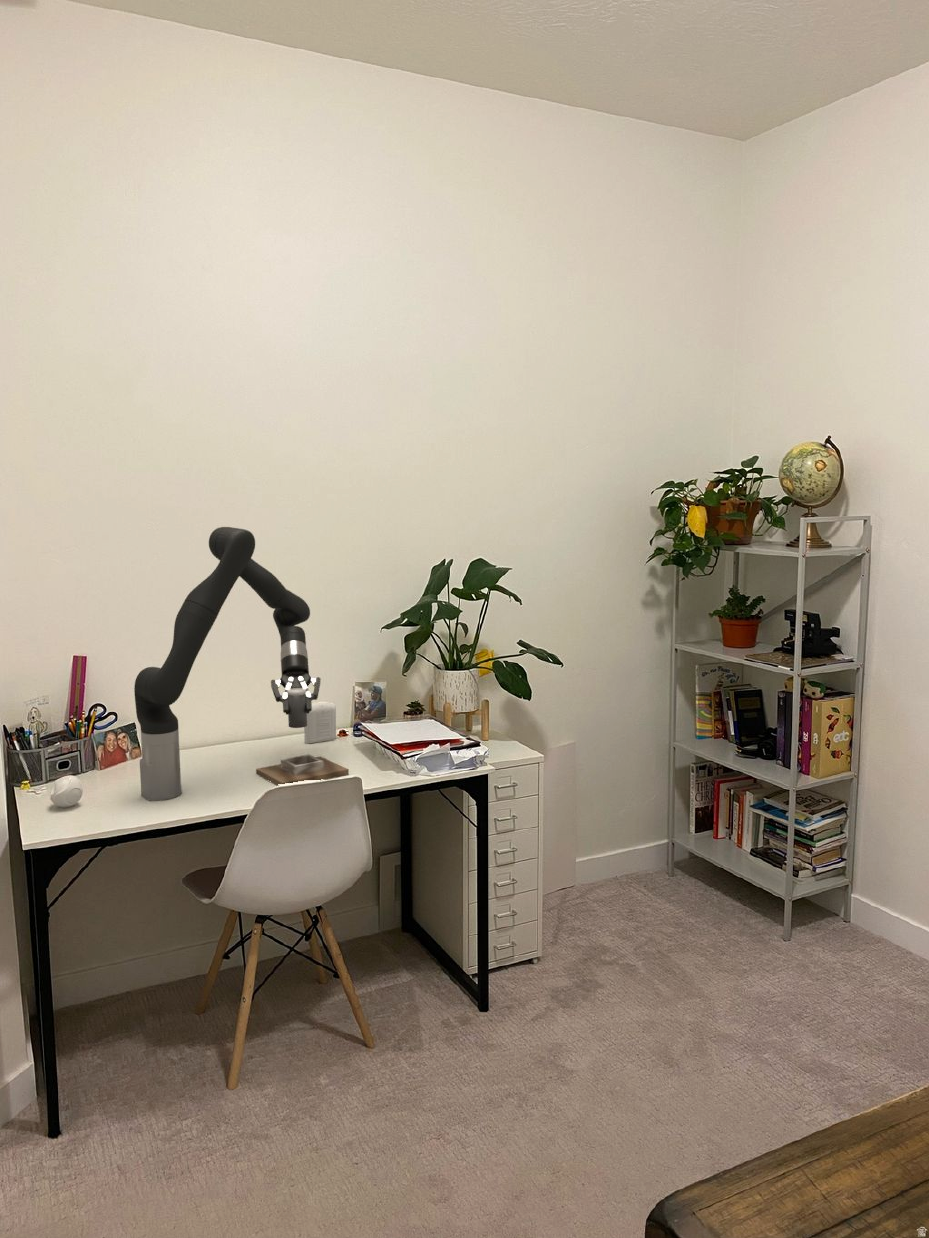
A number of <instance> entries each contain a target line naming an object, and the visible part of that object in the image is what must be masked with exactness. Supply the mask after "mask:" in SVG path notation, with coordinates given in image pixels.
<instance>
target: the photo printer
mask: <svg viewBox="0 0 929 1238" xmlns="http://www.w3.org/2000/svg"><path fill="white" fill-rule="evenodd" d="M311 703H312V710H311V711H309V713H307V726H306V727H303V728H304V732H303V733H304V743H305V744H314V743H320V742H327V741H328V742H329V741H335V740H336V739H337V711H336V705H335V703H333V702H330V701H315V702H311Z"/></svg>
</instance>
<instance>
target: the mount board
mask: <svg viewBox="0 0 929 1238" xmlns="http://www.w3.org/2000/svg"><path fill="white" fill-rule="evenodd" d="M349 771H350V770H349V769H348V768H346V767H345V766H342V765H340V764H338V763H336V762H333V761H332V760H329V759H327V758H325V757H323V756H314V755H311V754H309V753H307V754H303V755H298V756H297V755H296V756H292V757H287V758H281V759H280V763H279V764H275V765H269V766H263V767H259V768H255V772H256V773H255V774H256V775H257V776H259V777H261V778H262V779H264V780H267V781H268V780H269V781H268V782H270V781H271V782H270V783H272V784H274V785H275V786H277V785H278V784H285V783H293V782H298V781H304V780H320V781H322V780H321V779H325V780H329V779H333V778H334V777H335V778H338V777H343V776H348V775H349V773H350V772H349Z"/></svg>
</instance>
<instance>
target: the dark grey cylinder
mask: <svg viewBox="0 0 929 1238" xmlns="http://www.w3.org/2000/svg"><path fill="white" fill-rule="evenodd" d="M287 696H288V710H289V715H287V717H288V718H287V719H288V727H289V728H290V729H291V728H292V729H302V728H304V727H306V726H307V708H306V689H305V688H291V689H288V690H287Z"/></svg>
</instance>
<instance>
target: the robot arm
mask: <svg viewBox="0 0 929 1238" xmlns="http://www.w3.org/2000/svg"><path fill="white" fill-rule="evenodd" d="M208 548H209V551H210V552H211V554H212V555H213V556H214V558H216V559H217V560H218V561H219V562H218V564H217V566H216V568H215V569H214V570H213V571H212V572H211V573H210V574H209V576H207V577H206V578H205V579H204V580H202V581H201V582H200V583H199V584H197V585H196V586H195V587H194V588H193V589H192V590H191V591H190V592H189V593H188V595H187V596H186V598H185V599H184V600H183V603H182V605H181V607H180V608H179V610H178V613H177V615H176V617H175V621H174V625H173V639H172V640H173V641H172V646H171V649H170V651H169V654H168V655H167V657H166V659H165V661H164V663H163V664H162V666H161V667H156V666H149V667H145V668H144V669H142V670H141V671H139V672H138V674H137V676H136V679H135V681H134V691H133V692H134V702H135V704H134V705H135V713H136V718H137V721H138V723H139V728H140V739H141V740H140V741H141V742H140V744H141V759H140V758H139V759H140V760H139V773H140V774H139V775H140V794H141V796H142V797H143V798H144V799H146V800H148V801H149V802H150V801H151V802H152V801H163V800H170V799H174V798H176V797H179V796H181V794H182V778H181V777H182V776H181V775H182V774H181V756H180V755H181V754H180V753H181V752H180V733H179V732H180V731H179V730H180V729H179V720H178V717H177V716H176V715H175V714H174V712H173V711H172V709H171V707H170V706H171V705H173V704H174V703H175V702H177V701H178V699H179V698H180V696H181V695H182V693H183V691H184V689H185V686H186V683H187V681H188V679H189V678H188V677H189V675H190V674H191V673H190V672H191V670H192V668H193V665H194V664H195V661H196V658H197V656H198V654H199V652H200V650H201V649H202V647H203V645H204V643H205V641H206V639H207V637H208V635H209V632H210V631H211V629H212V628H213V625H214V624H215V621H216V620H217V618H218V616H219V614H220V612H221V609H222V607H223V605H224V603H225V602H226V600H227V598H228V596H229V595H230V593H231V591H232V589H233V587H234V586H235V584H236V582H237V581H238V579H239V578H241V579H242V581H244V582H245V583H246V584H247V585H248V586H249V587H250V588H251V589H252V590H253V591H254V592H255V593H256V595H257V596H259V597H260V599H261V600H262V601H263V602H264V604H266V605H267V606H268V607H269V608H270V609H274V610H273V613H272V618H273V620H274V621H273V622H274V624H275V625H276V627H277V630H278V634H279V637H280V666H281V667H280V670H281V677H280V679H278V680H275V679H271V680H270V687H271V690H272V693H273V696H274V699H275V701H276V702H277V703H282V712H283V714H285V715H287V716H288V715H289V710H288V696H287V690H288V689H291V688H305V689H306V708H307V713H309V711H311V710H312V703H313V702H312V701H317V700H318V697H319V692H320V687H321V680H322V679H321V677H319V676H317V677H316V678H314V677H311V675H310V670H309V669H310V668H309V656H308V651H307V650H308V649H307V641H306V632H305V630H304V629H303V628H302V627H301V626H298V625H299V624H302V623H305V622H306V621H308V620H309V618H310V617H311V609H310V607H309V604H307V602H306V600H304V599H303V598H301V596H299V595H297V594H295V593H294V592H292V591H290V590H288V589H287V588H286V587H285V585H284V584H282V582H281V581H280V580H279V579H278V578H277V577H276V576H275V575H274V574H273V573H272V572H270V571H269V570H268V569H266V568H265V567H264V566H262V565H261V564H259V563H258V562H256V561H255V560H254V559H253V558H252V557H253V555H254V552H255V548H256V538H255V536H254V534H253V533H252V532H251V531H249V530H248V529H243V528H238V527H232V526H231V527H230V526H221V527H217V528H215V529H213V530H212V532H211V533H210V536H209V537H208ZM310 684H312V687H313V693H311V692H310V691H309V686H310ZM280 685H281V686H282V687H283V688H284V692H283V694H281V693H280V691H279V688H280Z"/></svg>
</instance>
